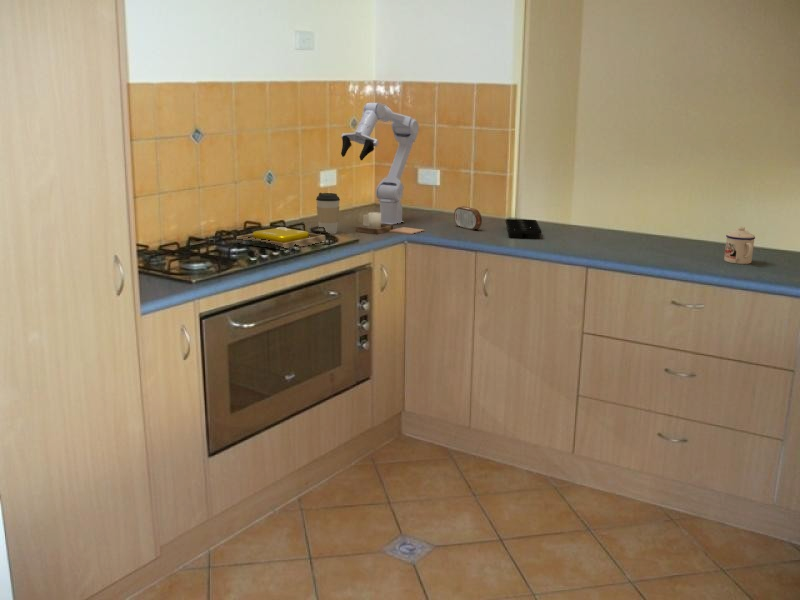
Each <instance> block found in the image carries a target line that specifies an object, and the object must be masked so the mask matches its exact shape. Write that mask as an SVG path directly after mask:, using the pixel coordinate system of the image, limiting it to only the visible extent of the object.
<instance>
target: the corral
mask: <svg viewBox="0 0 800 600" xmlns="http://www.w3.org/2000/svg"><path fill="white" fill-rule="evenodd" d="M250 236H253V232H252V233H249V234H247V233H246V234H242V235H237V236H236V240H237V239H243V240H252V241H261V242H266V243H271V244H275V245H278V246H281V247H284V248H289V247H292V246H294V245H295V244H296V245H299V246H306V247H309V246H308V245H310V246H313V245H312V244H315V243H319V242H322V241H325V242H326V234H321V233H312V232H309V236H310V237H311V238H306V239H301V240H297V241H292V242H287V243H281V242H275V241H268V240H261V239H255V238H248V237H250ZM319 244H320V243H319ZM315 245H316V244H315Z"/></svg>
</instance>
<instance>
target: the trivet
mask: <svg viewBox="0 0 800 600" xmlns="http://www.w3.org/2000/svg"><path fill="white" fill-rule="evenodd" d="M421 231H424V232H426V230H425V229H421V228H420V229H419V228H412V227H405V226H402V227H398V228H393V230H389V231H388V233H395V234H403V235H412V236H413V235H415V234H414V233H416V234H418V233H417V232H420V233H422V232H421Z"/></svg>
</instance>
